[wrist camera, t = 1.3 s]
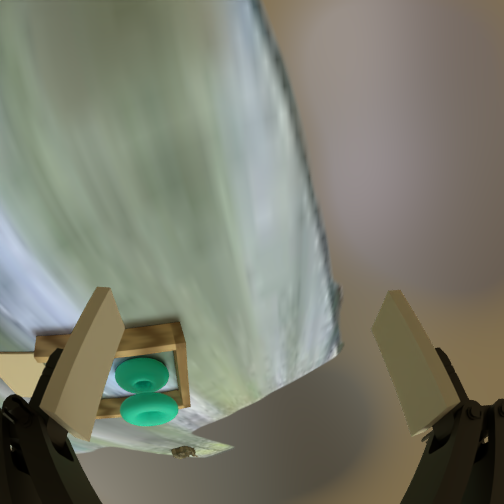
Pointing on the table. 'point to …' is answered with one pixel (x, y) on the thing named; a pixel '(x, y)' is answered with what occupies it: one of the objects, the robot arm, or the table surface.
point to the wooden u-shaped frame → (133, 345)
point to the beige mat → (20, 372)
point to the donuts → (145, 392)
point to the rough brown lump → (183, 452)
